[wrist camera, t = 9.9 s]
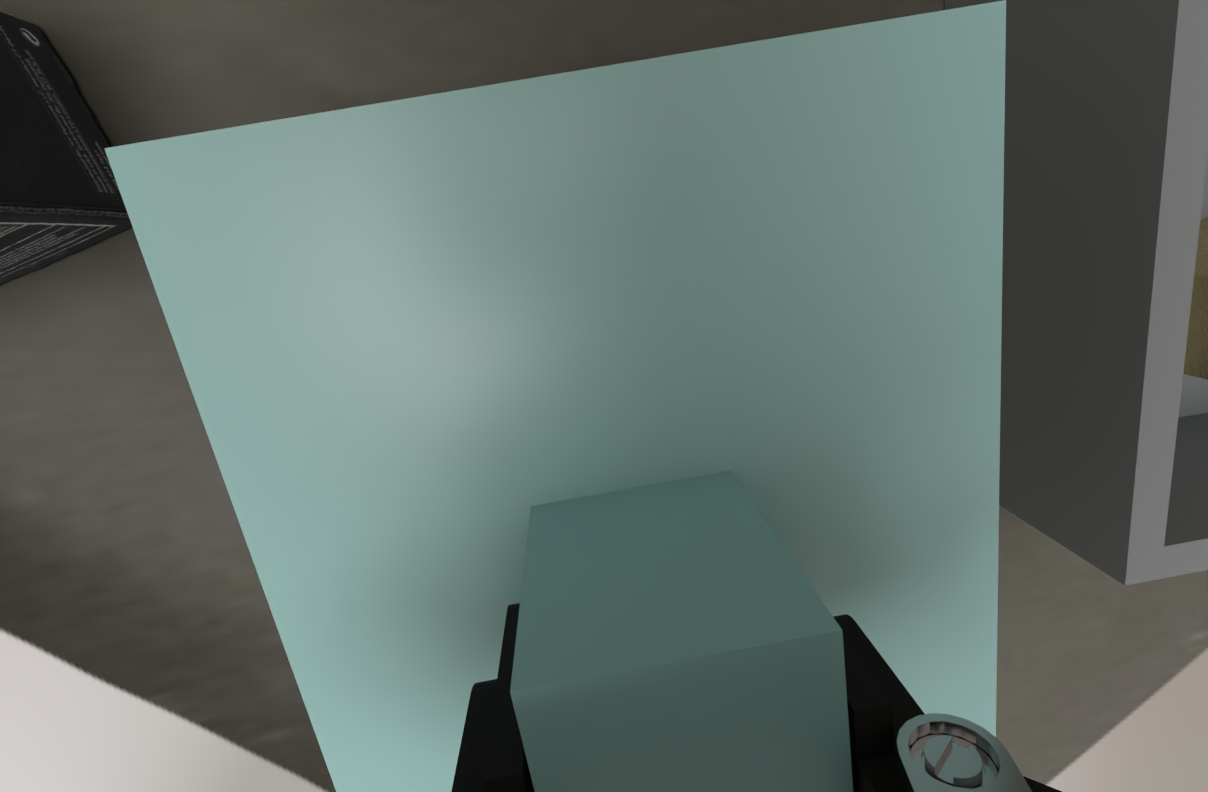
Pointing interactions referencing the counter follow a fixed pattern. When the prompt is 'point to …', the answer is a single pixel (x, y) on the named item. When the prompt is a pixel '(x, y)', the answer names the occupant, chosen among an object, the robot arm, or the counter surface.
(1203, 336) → the brass block
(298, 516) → the lid
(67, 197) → the small box
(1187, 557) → the tub
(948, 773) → the robot arm
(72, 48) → the counter surface
